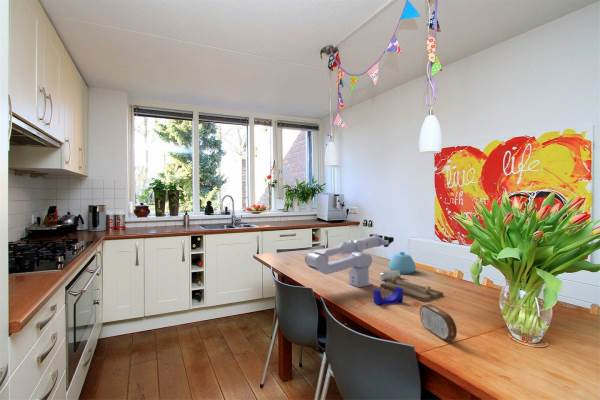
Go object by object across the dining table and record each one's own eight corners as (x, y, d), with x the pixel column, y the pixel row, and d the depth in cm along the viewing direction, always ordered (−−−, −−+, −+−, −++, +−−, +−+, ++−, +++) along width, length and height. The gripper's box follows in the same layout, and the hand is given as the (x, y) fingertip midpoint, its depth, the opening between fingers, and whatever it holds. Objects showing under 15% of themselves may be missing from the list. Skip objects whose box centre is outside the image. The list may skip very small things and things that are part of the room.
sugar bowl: (419, 274, 171) (419, 254, 171) (392, 274, 171) (392, 254, 171) (410, 268, 186) (410, 249, 186) (386, 268, 186) (385, 249, 186)
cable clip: (396, 299, 131) (396, 285, 131) (402, 302, 127) (402, 288, 127) (371, 302, 128) (371, 288, 128) (377, 305, 124) (377, 291, 124)
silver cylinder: (384, 281, 157) (384, 274, 157) (378, 280, 160) (378, 272, 160) (401, 278, 164) (401, 270, 164) (396, 276, 167) (396, 269, 167)
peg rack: (423, 301, 128) (423, 291, 128) (380, 287, 148) (380, 277, 148) (442, 295, 135) (442, 285, 135) (399, 282, 155) (399, 273, 155)
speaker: (457, 344, 91) (457, 317, 91) (448, 345, 91) (448, 318, 90) (425, 324, 106) (426, 300, 106) (418, 324, 105) (418, 300, 105)
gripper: (379, 236, 150) (397, 232, 157) (359, 233, 162) (377, 229, 169) (380, 250, 150) (398, 245, 157) (359, 246, 162) (377, 242, 170)
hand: (387, 238), depth 163 cm, fingers open, 7 cm apart
